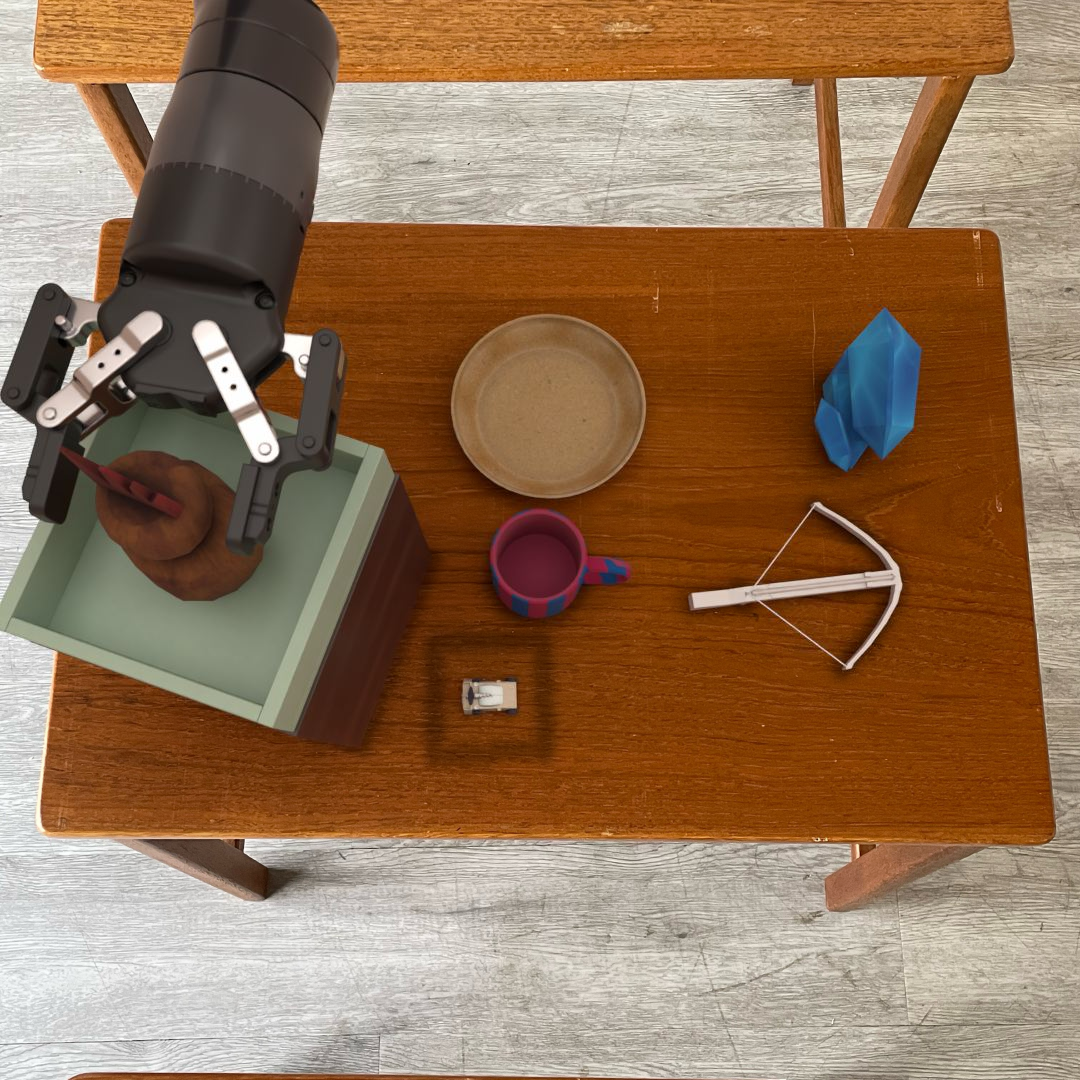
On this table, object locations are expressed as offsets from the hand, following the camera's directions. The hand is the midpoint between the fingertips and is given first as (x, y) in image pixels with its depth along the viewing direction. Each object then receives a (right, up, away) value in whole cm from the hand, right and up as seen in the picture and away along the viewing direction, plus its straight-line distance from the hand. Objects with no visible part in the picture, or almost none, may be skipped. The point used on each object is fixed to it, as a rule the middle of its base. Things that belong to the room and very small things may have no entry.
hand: (142, 536), depth 45 cm
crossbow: (+36, -4, +33) cm, 49 cm away
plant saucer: (+18, +10, +36) cm, 41 cm away
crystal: (+41, +10, +37) cm, 56 cm away
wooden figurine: (0, -1, +10) cm, 10 cm away
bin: (0, -1, +11) cm, 11 cm away
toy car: (+13, -12, +31) cm, 36 cm away
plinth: (0, -6, +32) cm, 33 cm away
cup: (+19, -3, +33) cm, 38 cm away
